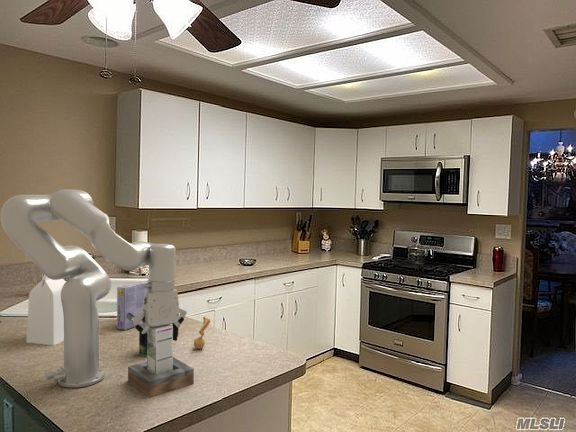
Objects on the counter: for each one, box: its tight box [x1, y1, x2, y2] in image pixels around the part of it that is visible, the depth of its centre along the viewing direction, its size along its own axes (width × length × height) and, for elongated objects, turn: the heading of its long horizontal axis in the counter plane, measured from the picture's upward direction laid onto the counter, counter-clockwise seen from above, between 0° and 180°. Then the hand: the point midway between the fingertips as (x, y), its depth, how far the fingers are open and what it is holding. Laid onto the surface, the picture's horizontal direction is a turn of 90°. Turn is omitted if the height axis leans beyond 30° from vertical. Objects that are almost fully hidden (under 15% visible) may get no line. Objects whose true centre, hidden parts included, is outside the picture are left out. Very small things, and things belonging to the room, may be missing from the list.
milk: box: [26, 274, 67, 346], centre depth 167 cm, size 12×12×26 cm
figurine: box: [193, 316, 211, 350], centre depth 161 cm, size 8×6×12 cm
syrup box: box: [146, 324, 174, 375], centre depth 131 cm, size 6×6×14 cm
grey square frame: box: [127, 356, 195, 398], centre depth 132 cm, size 14×14×4 cm
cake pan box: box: [116, 280, 148, 331], centre depth 189 cm, size 19×5×18 cm, turn 155°
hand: (158, 342), depth 131 cm, fingers open, 9 cm apart
